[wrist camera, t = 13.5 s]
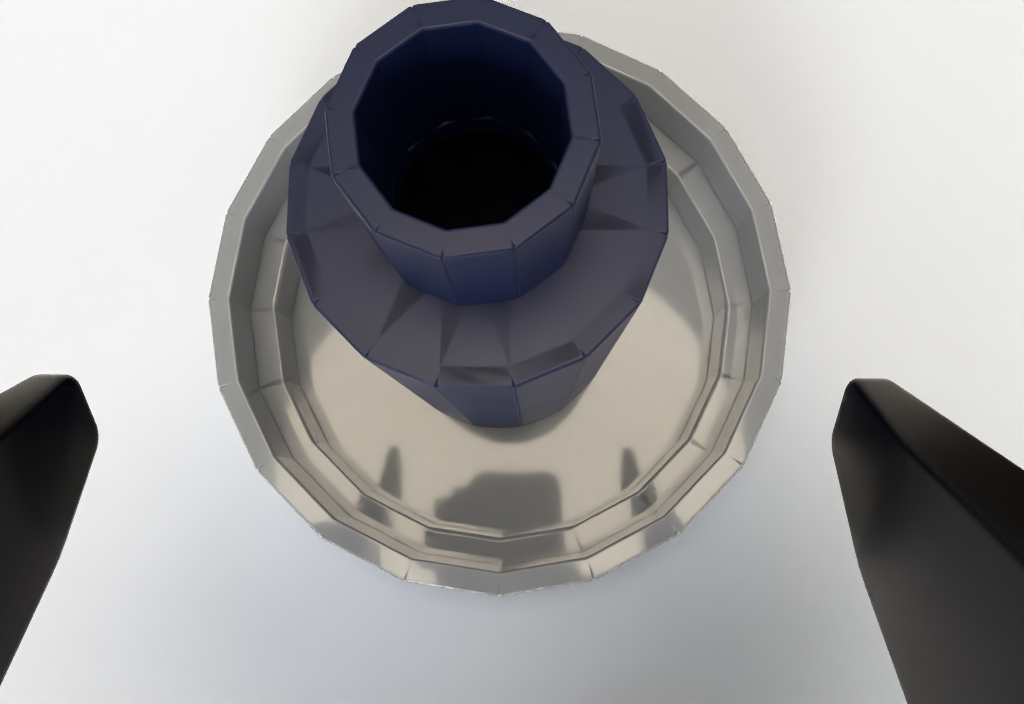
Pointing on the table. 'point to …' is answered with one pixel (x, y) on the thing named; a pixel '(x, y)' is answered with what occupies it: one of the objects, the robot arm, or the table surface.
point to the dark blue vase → (478, 209)
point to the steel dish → (537, 446)
